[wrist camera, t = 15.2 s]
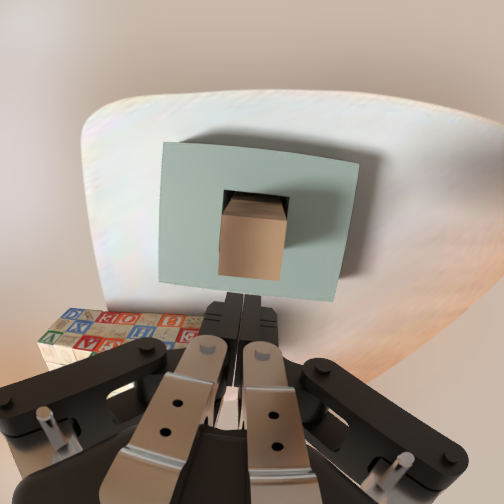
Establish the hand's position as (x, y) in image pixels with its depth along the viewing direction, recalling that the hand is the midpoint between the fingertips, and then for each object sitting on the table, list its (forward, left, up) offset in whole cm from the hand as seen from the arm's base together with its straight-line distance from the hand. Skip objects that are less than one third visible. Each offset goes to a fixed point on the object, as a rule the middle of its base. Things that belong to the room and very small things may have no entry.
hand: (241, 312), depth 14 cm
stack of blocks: (+14, +18, -21) cm, 31 cm away
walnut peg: (0, 0, -21) cm, 21 cm away
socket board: (0, 0, -21) cm, 21 cm away
